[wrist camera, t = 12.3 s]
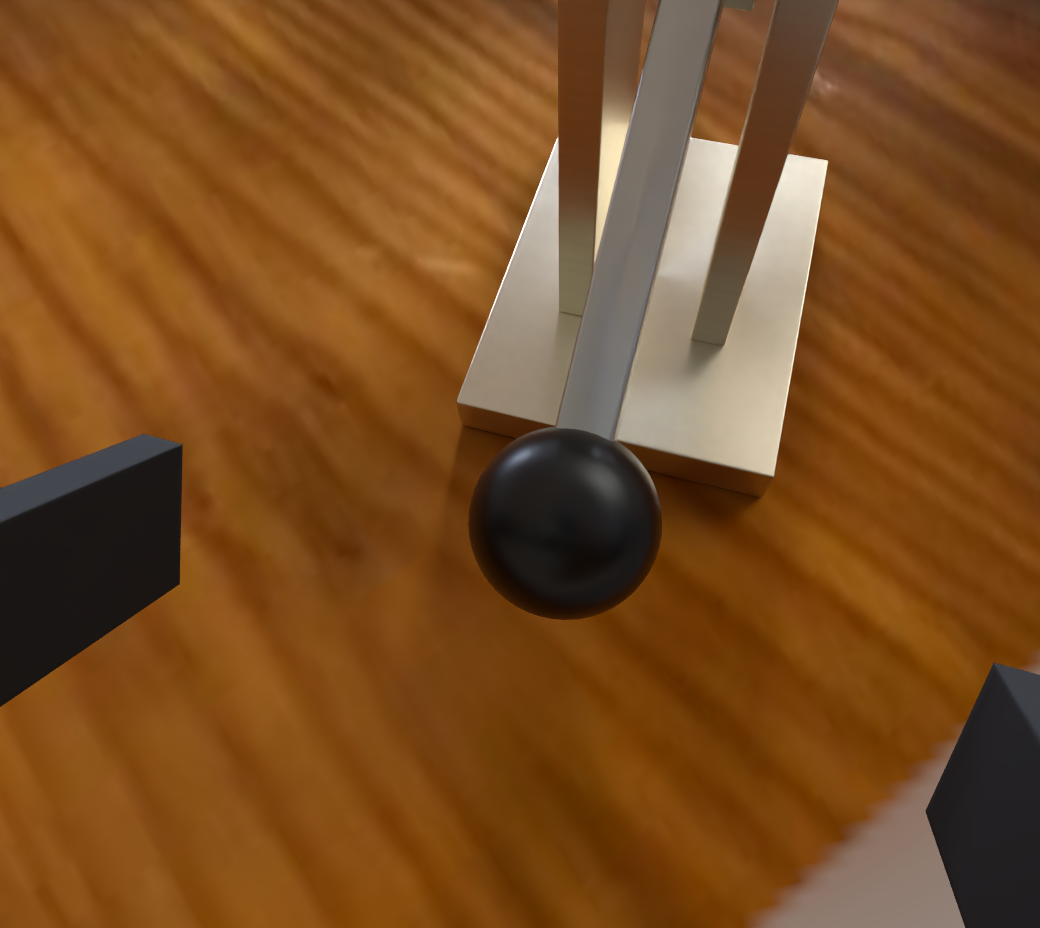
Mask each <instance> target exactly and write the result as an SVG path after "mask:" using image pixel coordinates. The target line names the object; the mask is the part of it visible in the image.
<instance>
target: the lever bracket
mask: <svg viewBox="0 0 1040 928" xmlns="http://www.w3.org/2000/svg"><path fill="white" fill-rule="evenodd" d="M838 2H839V0H776V1H775V5H774V9H773V13H772V17H771V21H770V25H769V29H768V32H767V36H766V40H765V44H764V48H763V52H762V56H761V60H760V64H759V68H758V72H757V75H756V79H755V83H754V87H753V91H752V95H751V99H750V103H749V107H748V111H747V115H746V118H745V122H744V126H743V130H742V134H741V138H740V142H739V146H737V145H731V144H725V143H719V142H713V141H707V140H701V139H695V138H691V139H690V143H689V148H688V152H687V156H686V160H685V164H684V168H683V172H682V176H681V180H680V184H679V188H678V192H677V196H676V200H675V204H674V208H673V212H672V217H671V221H670V225H669V229H668V233H667V237H666V241H665V245H664V249H663V253H662V257H661V261H660V265H659V269H658V273H657V277H656V282H655V286H654V290H653V294H652V298H651V302H650V306H649V310H648V314H647V318H646V322H645V326H644V330H643V334H642V338H641V342H640V347H639V351H638V355H637V359H636V363H635V367H634V371H633V375H632V379H631V383H630V387H629V391H628V395H627V399H626V403H625V407H624V412H623V416H622V420H621V424H620V428H619V432H618V436H617V440H616V441H617V442H619V443H621V444H622V445H623V446H625V447H626V448H627V449H628V450H629V451H631V452H632V453H633V454H634V455H635V456H636V458H637V459H638V460H639V461H640V462H641V463H642V465H643V466H644V467H645V469H646V470H649V471H653V472H658V473H662V474H666V475H670V476H674V477H678V478H682V479H686V480H691V481H695V482H699V483H703V484H707V485H711V486H715V487H720V488H724V489H728V490H732V491H736V492H740V493H744V494H749V495H753V496H757V497H763V495H764V493H765V492H766V490H767V488H768V486H769V485H770V483H771V481H772V480H773V478H774V475H775V469H776V464H777V458H778V452H779V446H780V440H781V434H782V429H783V423H784V417H785V411H786V405H787V400H788V394H789V388H790V382H791V376H792V370H793V365H794V359H795V353H796V347H797V341H798V336H799V330H800V324H801V318H802V312H803V306H804V301H805V295H806V289H807V283H808V277H809V272H810V266H811V260H812V254H813V248H814V242H815V237H816V231H817V225H818V219H819V213H820V208H821V202H822V196H823V190H824V184H825V178H826V173H827V167H828V161H827V160H821V159H815V158H809V157H803V156H797V155H791V154H788V153H789V150H790V147H791V144H792V141H793V138H794V135H795V132H796V129H797V126H798V123H799V120H800V117H801V113H802V110H803V107H804V104H805V101H806V98H807V95H808V92H809V89H810V86H811V83H812V80H813V77H814V74H815V71H816V68H817V65H818V62H819V59H820V56H821V53H822V50H823V47H824V44H825V41H826V38H827V35H828V32H829V29H830V26H831V23H832V20H833V17H834V14H835V11H836V8H837V5H838ZM644 10H645V0H558V138H557V140H556V143H555V146H554V148H553V151H552V153H551V156H550V159H549V161H548V164H547V166H546V169H545V172H544V174H543V177H542V179H541V182H540V185H539V187H538V190H537V192H536V195H535V198H534V200H533V203H532V206H531V208H530V211H529V213H528V216H527V219H526V221H525V224H524V226H523V229H522V232H521V234H520V237H519V239H518V242H517V245H516V247H515V250H514V252H513V255H512V258H511V260H510V263H509V265H508V268H507V271H506V273H505V276H504V278H503V281H502V284H501V286H500V289H499V292H498V294H497V297H496V299H495V302H494V305H493V307H492V310H491V312H490V315H489V318H488V320H487V323H486V325H485V328H484V331H483V333H482V336H481V338H480V341H479V344H478V346H477V349H476V351H475V354H474V357H473V359H472V362H471V364H470V367H469V370H468V372H467V375H466V378H465V380H464V383H463V385H462V388H461V391H460V393H459V396H458V398H457V401H456V403H457V407H458V411H459V416H460V420H461V424H462V425H463V426H467V427H471V428H476V429H480V430H484V431H488V432H492V433H496V434H500V435H504V436H509V437H513V438H519V437H521V436H523V435H525V434H528V433H530V432H533V431H536V430H539V429H544V428H548V427H555V425H556V421H557V416H558V412H559V408H560V404H561V400H562V396H563V392H564V388H565V384H566V380H567V376H568V371H569V367H570V363H571V359H572V355H573V351H574V347H575V343H576V339H577V335H578V331H579V326H580V322H581V318H582V314H583V310H584V306H585V302H586V298H587V294H588V290H589V286H590V281H591V277H592V273H593V269H594V265H595V261H596V257H597V253H598V249H599V245H600V241H601V236H602V232H603V228H604V224H605V220H606V216H607V212H608V208H609V204H610V200H611V196H612V192H613V187H614V183H615V179H616V175H617V171H618V167H619V163H620V159H621V155H622V151H623V147H624V142H625V138H626V134H627V130H628V126H629V122H630V118H631V114H632V110H633V106H634V102H635V97H636V89H637V79H638V69H639V59H640V50H641V40H642V30H643V20H644Z"/></svg>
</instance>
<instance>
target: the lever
mask: <svg viewBox="0 0 1040 928" xmlns="http://www.w3.org/2000/svg"><path fill="white" fill-rule="evenodd" d="M755 1H756V0H659V3H658V7H657V12H656V16H655V20H654V24H653V28H652V32H651V36H650V40H649V44H648V48H647V52H646V57H645V61H644V65H643V69H642V73H641V77H640V81H639V85H638V89H637V93H636V97H635V102H634V106H633V110H632V114H631V118H630V122H629V126H628V130H627V134H626V138H625V142H624V147H623V151H622V155H621V159H620V163H619V167H618V171H617V175H616V179H615V183H614V187H613V192H612V196H611V200H610V204H609V208H608V212H607V216H606V220H605V224H604V228H603V232H602V236H601V241H600V245H599V249H598V253H597V257H596V261H595V265H594V269H593V273H592V277H591V281H590V286H589V290H588V294H587V298H586V302H585V306H584V310H583V314H582V318H581V322H580V326H579V331H578V335H577V339H576V343H575V347H574V351H573V355H572V359H571V363H570V367H569V371H568V376H567V380H566V384H565V388H564V392H563V396H562V400H561V404H560V408H559V412H558V416H557V421H556V425H555V427H548V428H544V429H539V430H536V431H533V432H530V433H528V434H525V435H523V436H521V437H519V438H517V439H516V440H514V441H512V442H511V443H510V444H508V445H507V446H505V447H504V448H503V449H502V450H501V451H500V452H499V453H498V454H497V455H495V457H494V458H493V459H492V460H491V461H490V463H489V464H488V465H487V466H486V468H485V470H484V471H483V473H482V474H481V476H480V478H479V480H478V482H477V485H476V487H475V489H474V492H473V496H472V499H471V504H470V509H469V524H468V525H469V537H470V541H471V546H472V550H473V553H474V556H475V559H476V561H477V563H478V565H479V567H480V569H481V571H482V573H483V574H484V576H485V577H486V579H487V580H488V582H489V583H490V584H491V585H492V586H493V587H494V589H495V590H496V591H497V592H498V593H499V594H501V595H502V596H503V597H504V598H505V599H506V600H508V601H509V602H511V603H512V604H514V605H515V606H517V607H519V608H521V609H523V610H525V611H526V612H529V613H532V614H535V615H537V616H541V617H546V618H551V619H560V620H572V619H582V618H587V617H591V616H594V615H597V614H600V613H603V612H605V611H607V610H609V609H611V608H613V607H615V606H616V605H618V604H619V603H621V602H622V601H624V600H625V599H626V598H627V597H629V596H630V595H631V594H632V593H633V592H634V591H635V590H636V589H637V588H638V586H639V585H640V584H641V583H642V582H643V580H644V579H645V577H646V576H647V574H648V573H649V571H650V569H651V567H652V565H653V563H654V561H655V559H656V556H657V553H658V550H659V547H660V541H661V535H662V512H661V505H660V501H659V496H658V493H657V491H656V488H655V485H654V483H653V481H652V479H651V477H650V475H649V473H648V472H647V470H646V469H645V467H644V466H643V465H642V463H641V462H640V461H639V460H638V459H637V458H636V456H635V455H634V454H633V453H632V452H631V451H629V450H628V449H627V448H626V447H625V446H623V445H622V444H621V443H619V442H617V441H616V440H617V436H618V432H619V428H620V424H621V420H622V416H623V412H624V407H625V403H626V399H627V395H628V391H629V387H630V383H631V379H632V375H633V371H634V367H635V363H636V359H637V355H638V351H639V347H640V342H641V338H642V334H643V330H644V326H645V322H646V318H647V314H648V310H649V306H650V302H651V298H652V294H653V290H654V286H655V282H656V277H657V273H658V269H659V265H660V261H661V257H662V253H663V249H664V245H665V241H666V237H667V233H668V229H669V225H670V221H671V217H672V212H673V208H674V204H675V200H676V196H677V192H678V188H679V184H680V180H681V176H682V172H683V168H684V164H685V160H686V156H687V152H688V148H689V143H690V139H691V135H692V131H693V127H694V123H695V119H696V115H697V111H698V107H699V103H700V99H701V95H702V91H703V87H704V83H705V78H706V74H707V70H708V66H709V62H710V58H711V54H712V50H713V46H714V42H715V38H716V34H717V30H718V26H719V22H720V18H721V13H722V9H723V7H727V8H734V9H742V10H749V11H750V10H752V9H753V8H754V5H755Z"/></svg>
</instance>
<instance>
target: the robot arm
mask: <svg viewBox="0 0 1040 928" xmlns="http://www.w3.org/2000/svg"><path fill="white" fill-rule="evenodd" d="M182 445H183V444H179V443H175V442H172V441H168V440H164V439H160V438H157V437H153V436H149V435H146V434H142V435H140V436H137V437H134V438H132V439H129V440H127V441H124V442H121V443H119V444H116V445H113V446H111V447H108V448H106V449H103V450H100V451H98V452H95V453H93V454H90V455H87V456H85V457H82V458H79V459H77V460H74V461H72V462H69V463H66V464H64V465H61V466H58V467H56V468H53V469H51V470H48V471H45V472H43V473H40V474H38V475H35V476H32V477H30V478H27V479H24V480H22V481H19V482H17V483H14V484H11V485H9V486H6V487H3V488H1V489H0V707H1V706H2V705H4V704H5V703H7V702H8V701H9V700H11V699H12V698H14V697H15V696H17V695H18V694H20V693H21V692H23V691H24V690H26V689H27V688H28V687H30V686H31V685H33V684H34V683H36V682H37V681H39V680H40V679H42V678H43V677H45V676H46V675H47V674H49V673H50V672H52V671H53V670H55V669H56V668H58V667H59V666H61V665H62V664H64V663H65V662H66V661H68V660H69V659H71V658H72V657H74V656H75V655H77V654H78V653H80V652H81V651H83V650H84V649H85V648H87V647H88V646H90V645H91V644H93V643H94V642H96V641H97V640H99V639H100V638H102V637H103V636H104V635H106V634H107V633H109V632H110V631H112V630H113V629H115V628H116V627H118V626H119V625H121V624H122V623H123V622H125V621H126V620H128V619H129V618H131V617H132V616H134V615H135V614H137V613H138V612H139V611H141V610H142V609H144V608H145V607H147V606H148V605H150V604H151V603H153V602H154V601H156V600H157V599H158V598H160V597H161V596H163V595H164V594H166V593H167V592H169V591H170V590H172V589H173V588H175V587H176V586H177V585H179V584H180V539H181V492H182ZM926 814H927V817H928V820H929V823H930V826H931V829H932V832H933V835H934V837H935V840H936V843H937V846H938V849H939V852H940V855H941V858H942V861H943V863H944V867H945V870H946V873H947V875H948V878H949V881H950V884H951V887H952V890H953V893H954V896H955V899H956V902H957V904H958V908H959V910H960V913H961V916H962V919H963V922H964V925H965V928H1040V675H1038V674H1034V673H1030V672H1027V671H1023V670H1019V669H1015V668H1012V667H1008V666H1004V665H1001V664H997V663H993V666H992V668H991V670H990V672H989V674H988V676H987V679H986V681H985V683H984V685H983V687H982V689H981V692H980V694H979V696H978V698H977V700H976V703H975V705H974V707H973V709H972V711H971V713H970V716H969V718H968V720H967V722H966V724H965V726H964V729H963V731H962V733H961V735H960V737H959V739H958V742H957V744H956V746H955V748H954V750H953V753H952V755H951V757H950V759H949V761H948V763H947V766H946V768H945V770H944V772H943V774H942V776H941V779H940V781H939V783H938V785H937V787H936V789H935V792H934V794H933V796H932V798H931V800H930V803H929V805H928V807H927V809H926Z"/></svg>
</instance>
